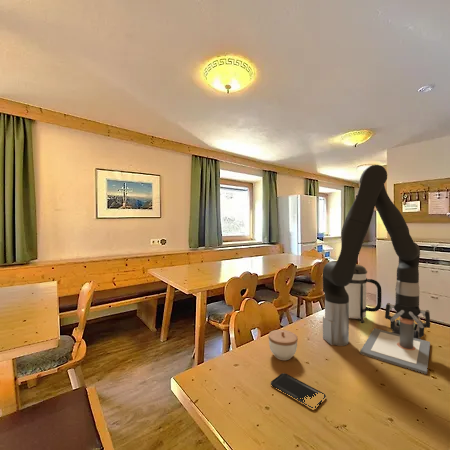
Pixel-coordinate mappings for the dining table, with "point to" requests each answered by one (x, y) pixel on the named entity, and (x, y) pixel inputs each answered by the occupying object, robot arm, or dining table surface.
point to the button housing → (416, 330)
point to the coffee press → (360, 294)
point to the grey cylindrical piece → (406, 333)
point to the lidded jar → (283, 344)
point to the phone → (294, 387)
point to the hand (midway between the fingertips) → (406, 333)
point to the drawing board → (397, 350)
